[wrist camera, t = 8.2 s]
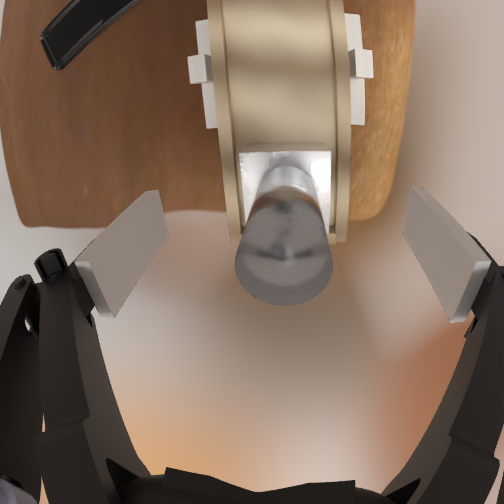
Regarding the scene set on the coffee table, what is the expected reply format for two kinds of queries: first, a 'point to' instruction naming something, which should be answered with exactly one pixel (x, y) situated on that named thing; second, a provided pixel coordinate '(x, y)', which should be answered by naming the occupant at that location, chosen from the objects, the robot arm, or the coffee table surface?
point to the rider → (285, 221)
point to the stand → (357, 67)
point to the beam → (281, 90)
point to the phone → (79, 27)
